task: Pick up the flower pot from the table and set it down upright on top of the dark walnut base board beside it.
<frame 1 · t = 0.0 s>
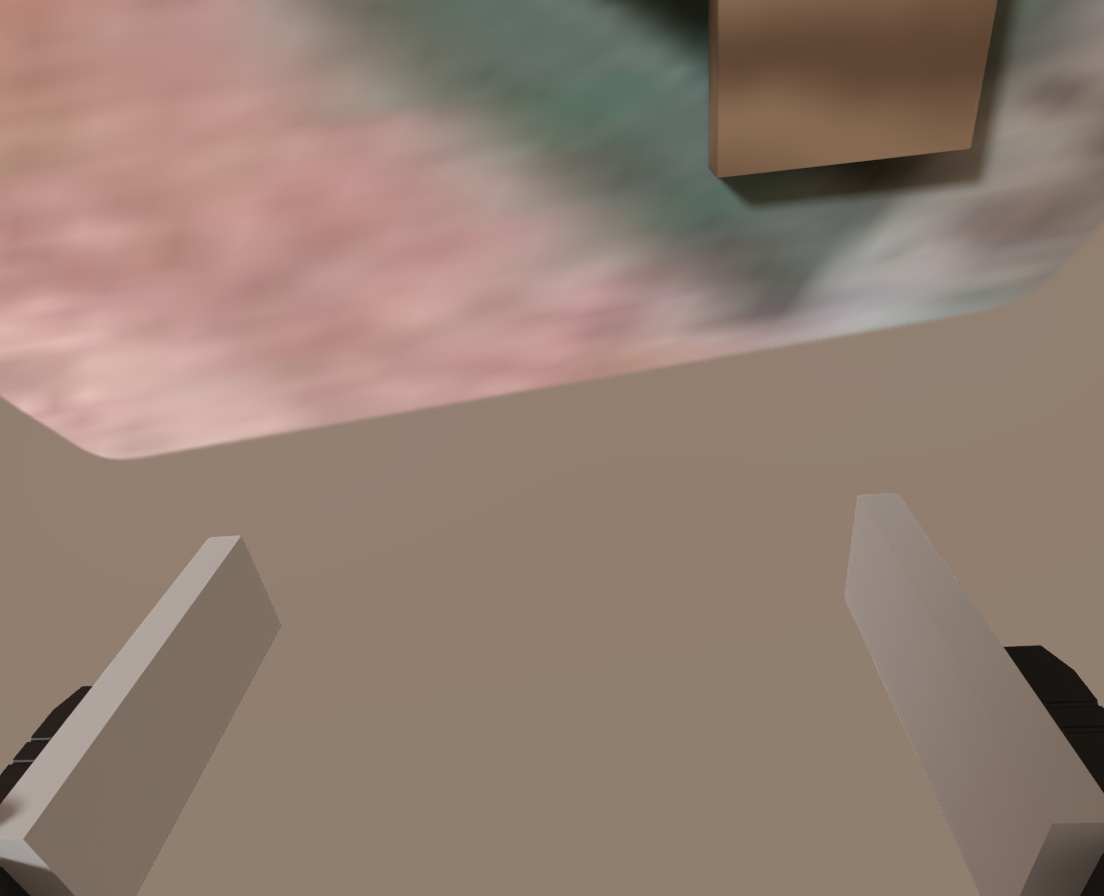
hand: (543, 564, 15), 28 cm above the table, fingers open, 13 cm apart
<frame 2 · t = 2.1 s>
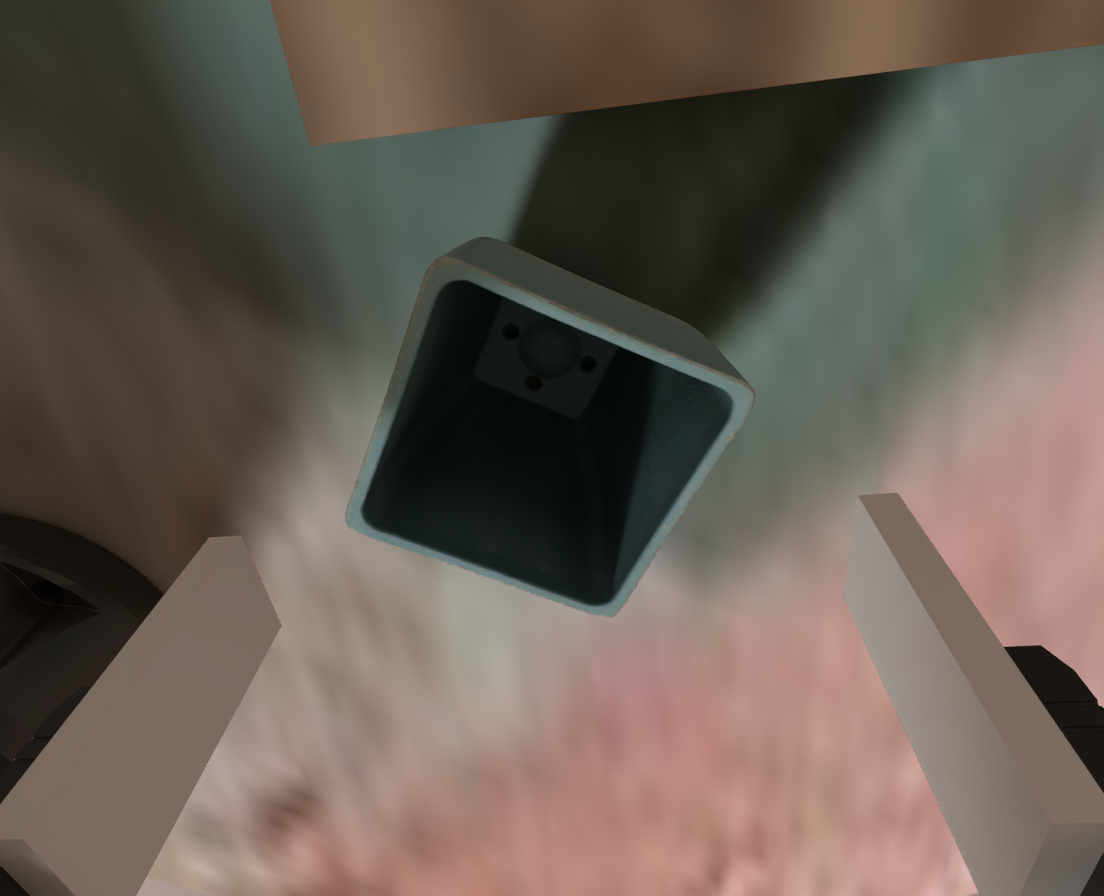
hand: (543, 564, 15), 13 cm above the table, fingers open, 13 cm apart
flower pot: (549, 340, 26), on the table
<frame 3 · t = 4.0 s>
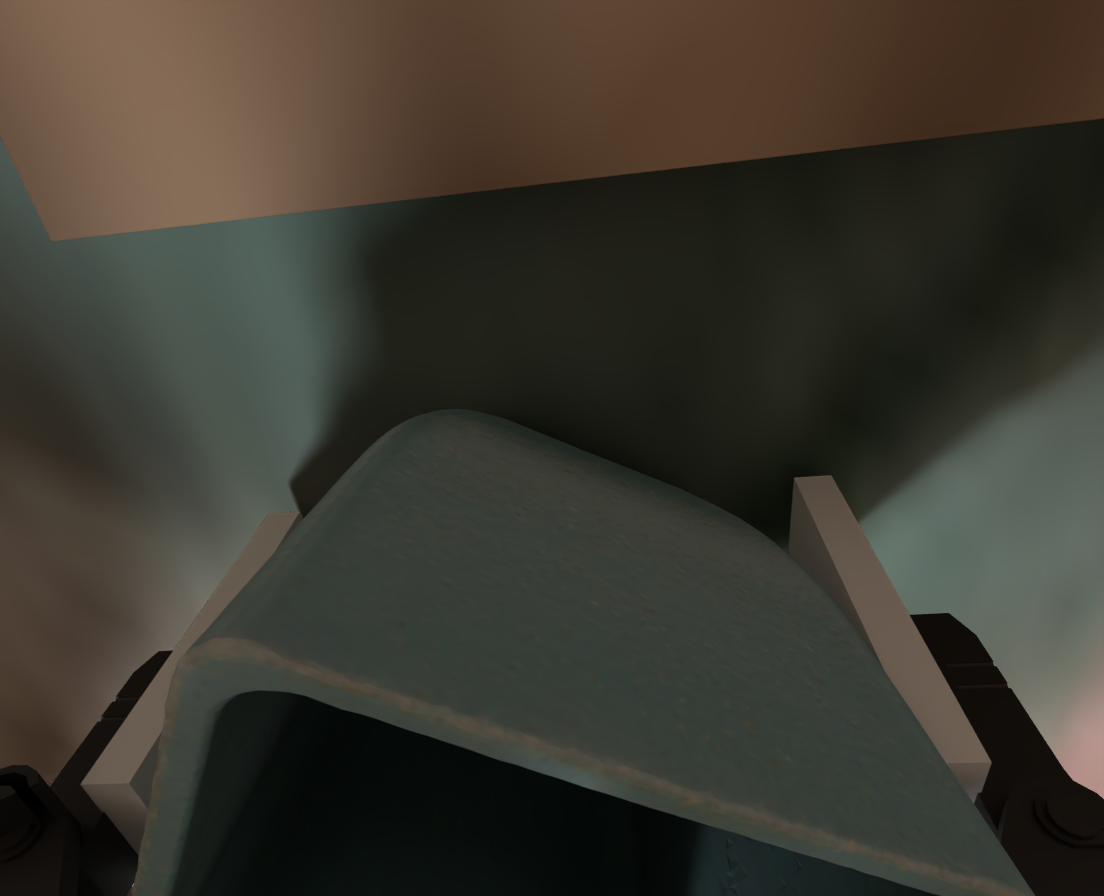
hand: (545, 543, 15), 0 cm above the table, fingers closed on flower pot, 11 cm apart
flower pot: (546, 523, 16), on the table, touching gripper
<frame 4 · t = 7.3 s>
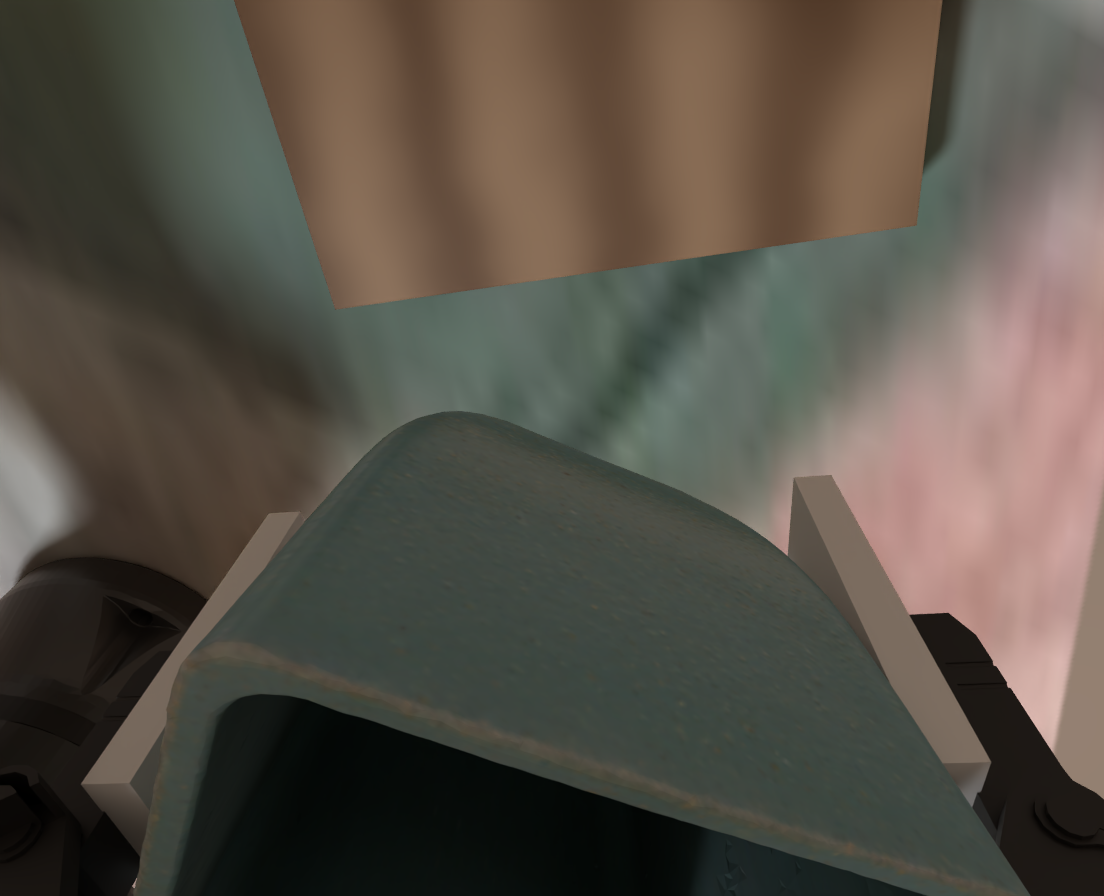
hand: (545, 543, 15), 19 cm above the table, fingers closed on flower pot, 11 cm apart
flower pot: (546, 525, 16), point 18 cm above the table, touching gripper
walnut board: (593, 103, 27), on the table
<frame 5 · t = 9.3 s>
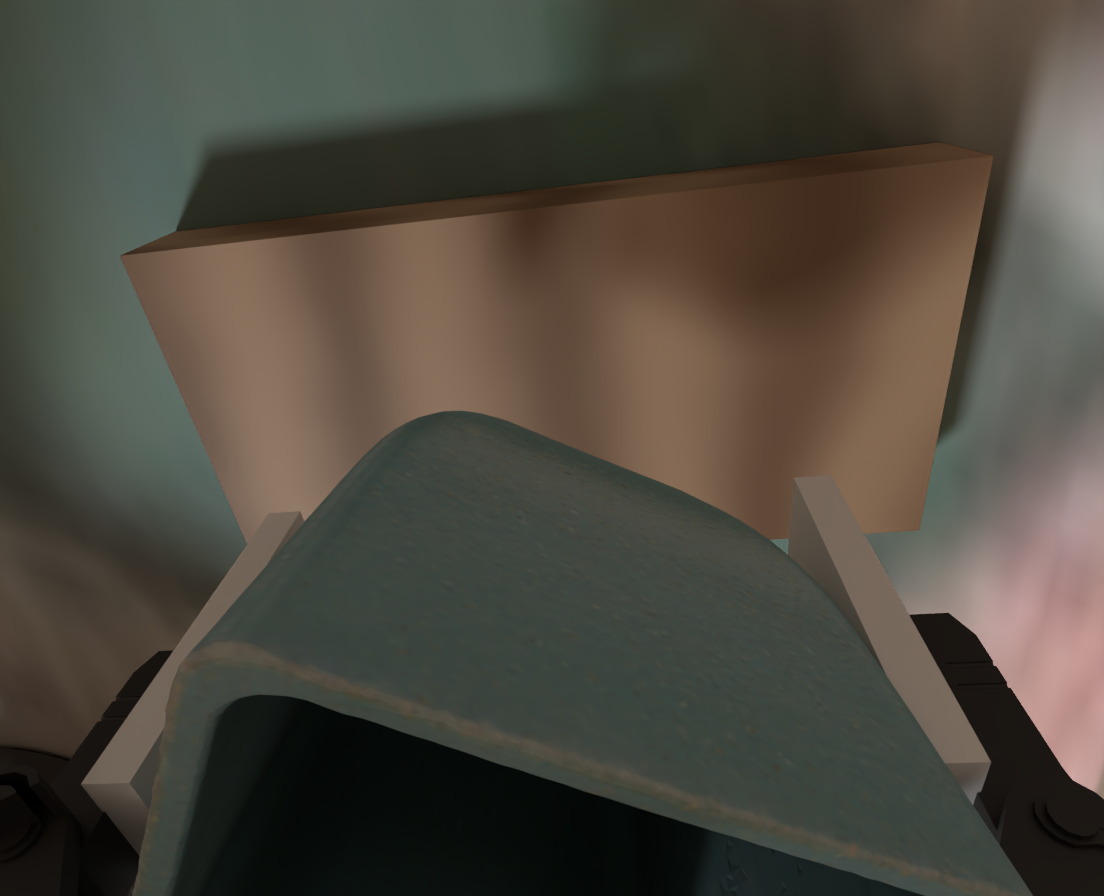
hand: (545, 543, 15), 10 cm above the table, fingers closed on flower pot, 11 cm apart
flower pot: (546, 525, 16), point 9 cm above the table, touching gripper
walnut board: (557, 366, 24), on the table
when the fingers open (5 cm above the table, at t = 10.8 s): flower pot drops 2 cm, resting on walnut board.
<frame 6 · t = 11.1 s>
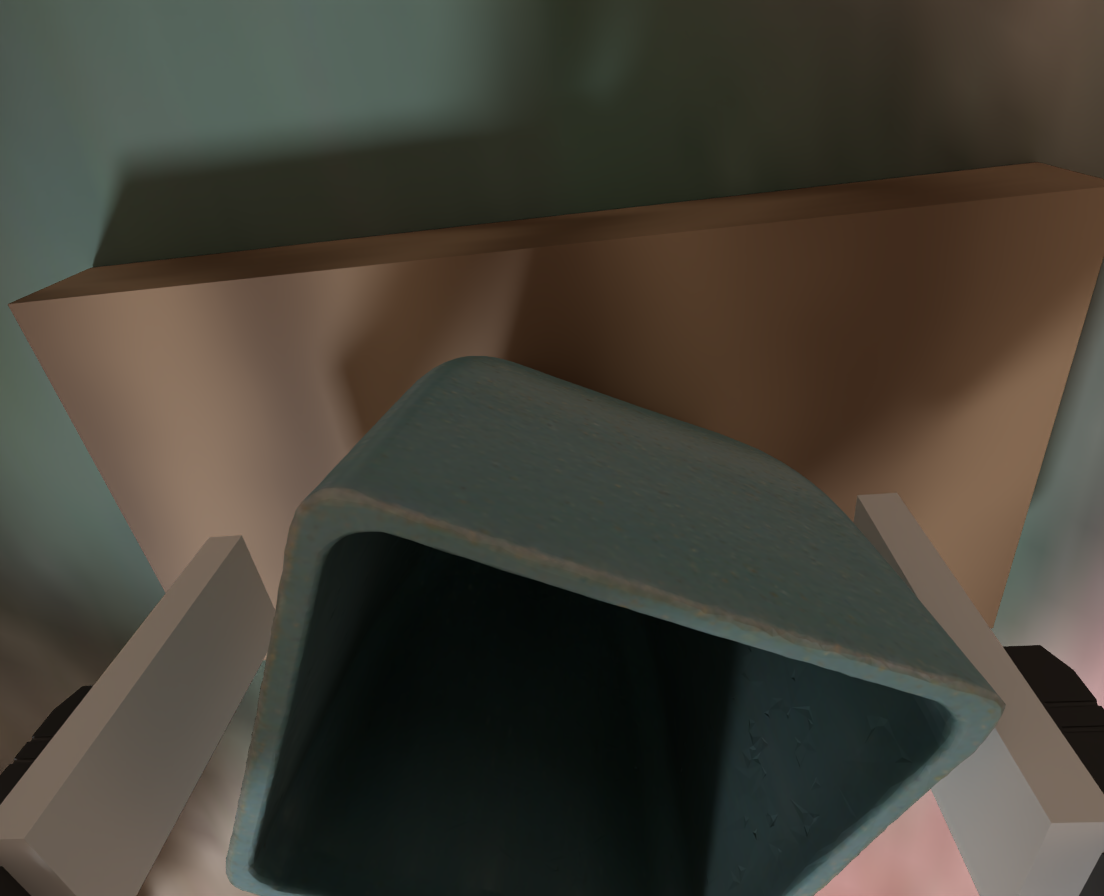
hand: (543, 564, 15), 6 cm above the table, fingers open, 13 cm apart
flower pot: (572, 469, 17), point 3 cm above the table, touching walnut board
walnut board: (556, 426, 20), on the table
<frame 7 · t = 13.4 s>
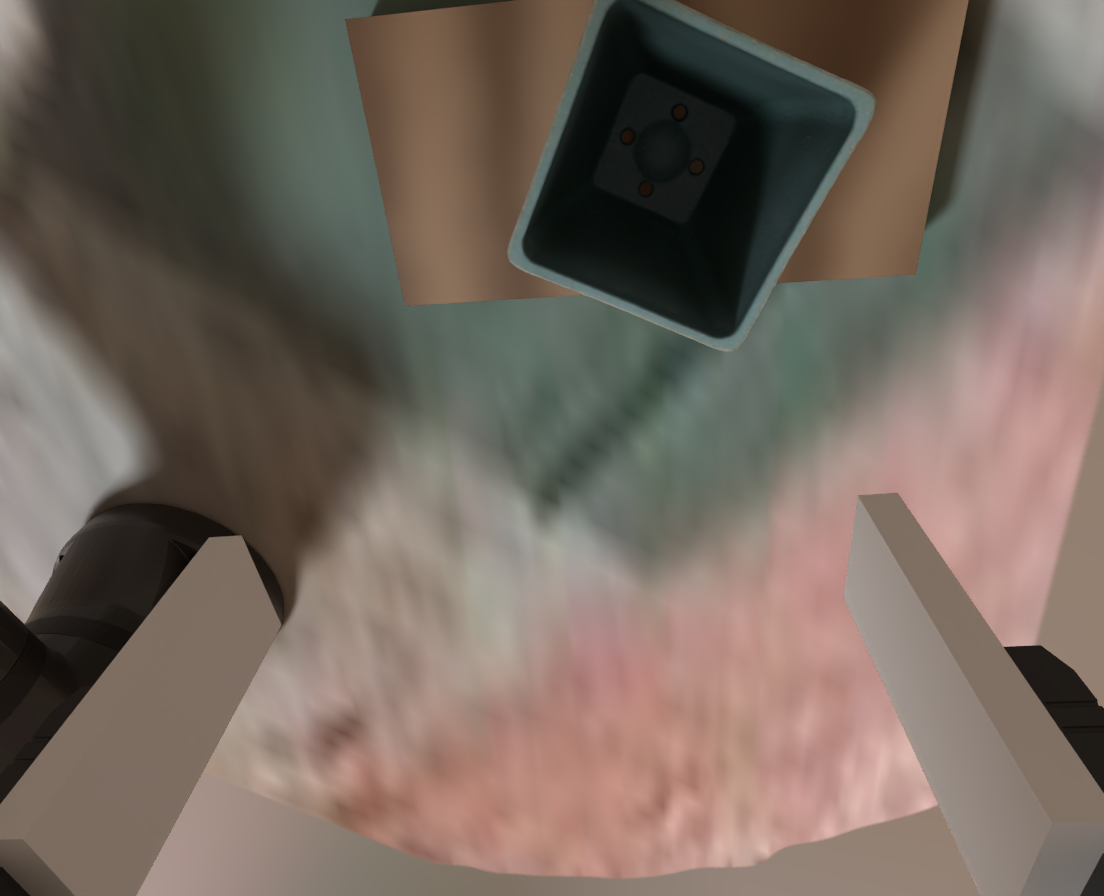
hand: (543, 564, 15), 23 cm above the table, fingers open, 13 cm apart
flower pot: (661, 147, 29), point 3 cm above the table, touching walnut board
walnut board: (644, 145, 31), on the table
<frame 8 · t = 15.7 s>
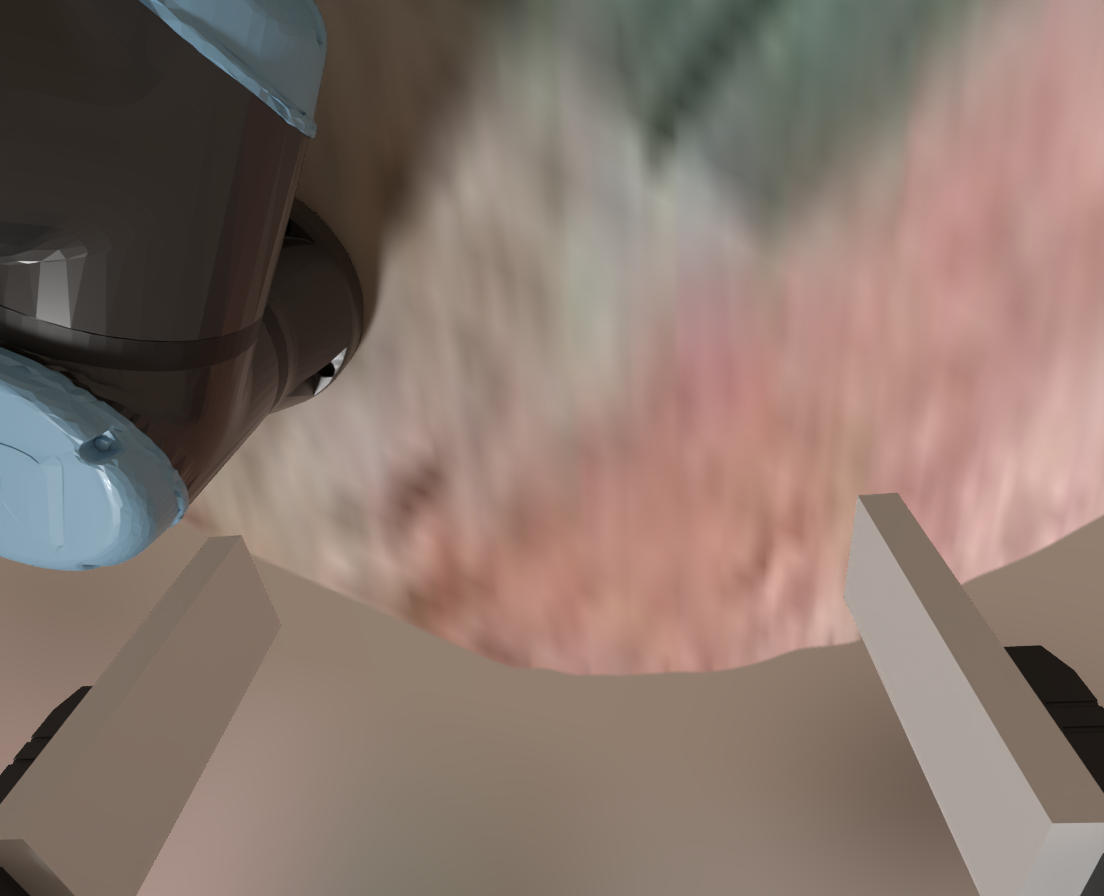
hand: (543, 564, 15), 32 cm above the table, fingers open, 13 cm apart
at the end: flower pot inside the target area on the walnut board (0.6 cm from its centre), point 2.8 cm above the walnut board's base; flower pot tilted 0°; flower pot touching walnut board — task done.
